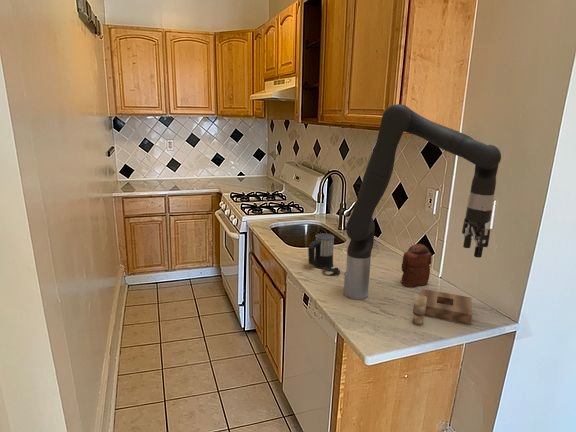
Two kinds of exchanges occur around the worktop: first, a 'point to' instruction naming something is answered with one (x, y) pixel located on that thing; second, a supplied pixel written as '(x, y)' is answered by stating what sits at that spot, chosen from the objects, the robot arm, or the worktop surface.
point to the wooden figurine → (416, 266)
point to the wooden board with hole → (448, 306)
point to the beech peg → (419, 309)
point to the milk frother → (322, 252)
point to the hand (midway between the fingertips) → (471, 252)
